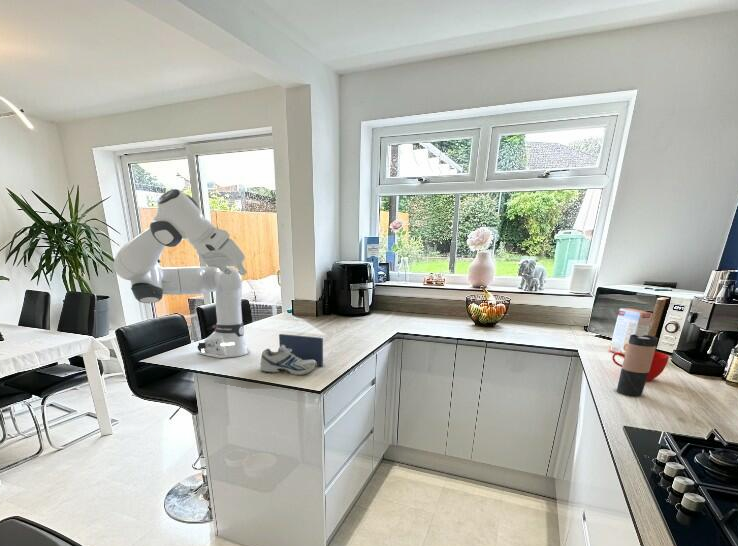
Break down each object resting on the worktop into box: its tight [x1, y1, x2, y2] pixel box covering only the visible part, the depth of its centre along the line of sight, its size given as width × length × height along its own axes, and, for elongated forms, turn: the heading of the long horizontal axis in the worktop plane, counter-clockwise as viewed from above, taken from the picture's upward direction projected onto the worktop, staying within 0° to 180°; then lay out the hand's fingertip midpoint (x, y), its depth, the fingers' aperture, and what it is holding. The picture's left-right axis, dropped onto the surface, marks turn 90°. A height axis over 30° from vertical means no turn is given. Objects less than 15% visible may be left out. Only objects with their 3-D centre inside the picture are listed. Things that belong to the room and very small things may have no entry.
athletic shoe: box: [259, 345, 318, 376], centre depth 158 cm, size 10×23×12 cm, turn 89°
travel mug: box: [616, 334, 659, 398], centre depth 135 cm, size 8×8×20 cm
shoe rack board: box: [278, 333, 324, 368], centre depth 167 cm, size 20×1×12 cm, turn 69°
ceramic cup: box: [611, 350, 670, 382], centre depth 152 cm, size 13×17×10 cm
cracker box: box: [608, 307, 654, 355], centre depth 182 cm, size 14×6×21 cm, turn 179°
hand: (236, 274), depth 131 cm, fingers open, 8 cm apart
